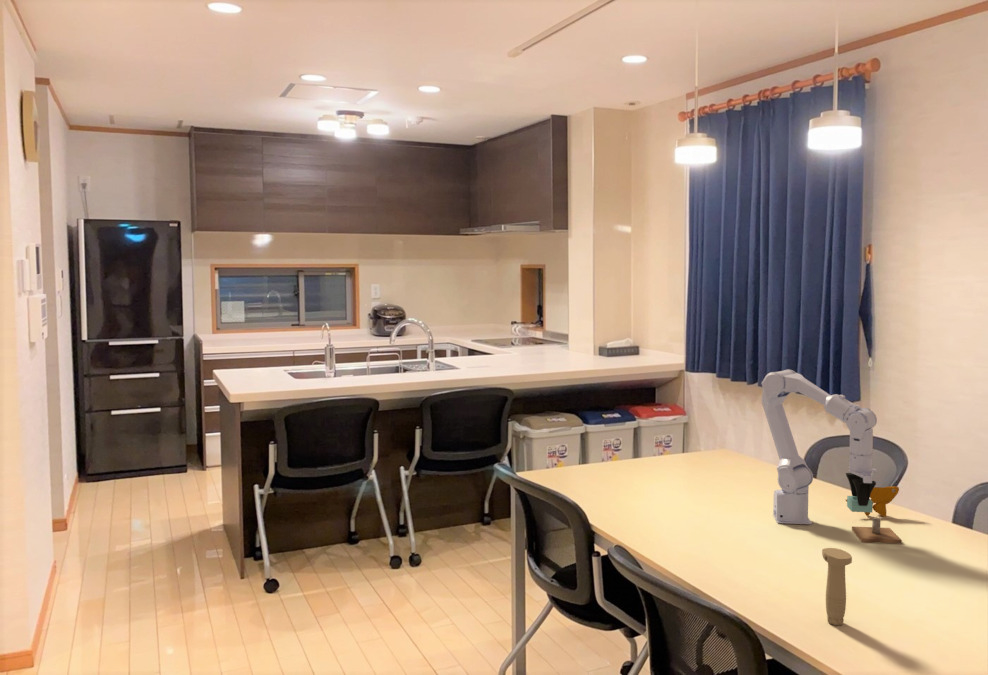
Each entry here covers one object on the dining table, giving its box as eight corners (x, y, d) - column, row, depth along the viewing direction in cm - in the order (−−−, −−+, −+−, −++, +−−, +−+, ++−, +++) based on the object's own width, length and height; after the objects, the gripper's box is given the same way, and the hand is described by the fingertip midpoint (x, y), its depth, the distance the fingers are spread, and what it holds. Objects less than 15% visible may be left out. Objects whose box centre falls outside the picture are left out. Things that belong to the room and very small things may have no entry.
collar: (851, 511, 218) (852, 500, 218) (847, 506, 223) (847, 495, 223) (872, 512, 217) (872, 501, 217) (867, 507, 222) (867, 496, 222)
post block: (861, 542, 216) (862, 523, 216) (851, 529, 226) (852, 512, 225) (901, 543, 214) (902, 525, 214) (889, 531, 224) (890, 513, 224)
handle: (834, 630, 165) (835, 559, 163) (815, 617, 171) (817, 549, 170) (855, 628, 165) (857, 557, 164) (836, 615, 172) (838, 547, 170)
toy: (909, 506, 236) (895, 476, 236) (859, 529, 237) (846, 499, 236) (904, 503, 239) (890, 474, 238) (856, 526, 240) (842, 497, 239)
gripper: (884, 460, 211) (883, 510, 212) (869, 447, 225) (868, 495, 226) (856, 459, 212) (855, 509, 213) (842, 447, 226) (841, 494, 227)
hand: (860, 502), depth 220 cm, fingers closed on collar, 5 cm apart
